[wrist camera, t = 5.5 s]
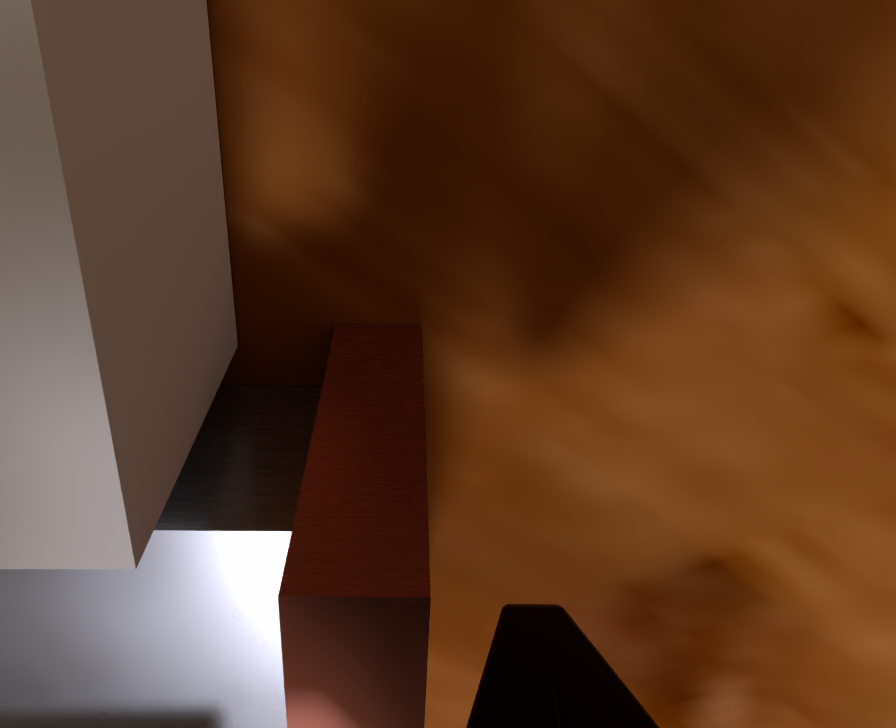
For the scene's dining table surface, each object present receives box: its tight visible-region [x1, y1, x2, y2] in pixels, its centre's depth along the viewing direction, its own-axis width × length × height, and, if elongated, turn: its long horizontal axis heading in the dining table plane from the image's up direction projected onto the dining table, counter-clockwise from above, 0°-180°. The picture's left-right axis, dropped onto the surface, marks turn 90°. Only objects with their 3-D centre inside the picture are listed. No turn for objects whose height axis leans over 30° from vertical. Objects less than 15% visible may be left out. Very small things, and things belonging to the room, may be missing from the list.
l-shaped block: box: [0, 325, 430, 728], centre depth 9 cm, size 9×5×5 cm, turn 87°
